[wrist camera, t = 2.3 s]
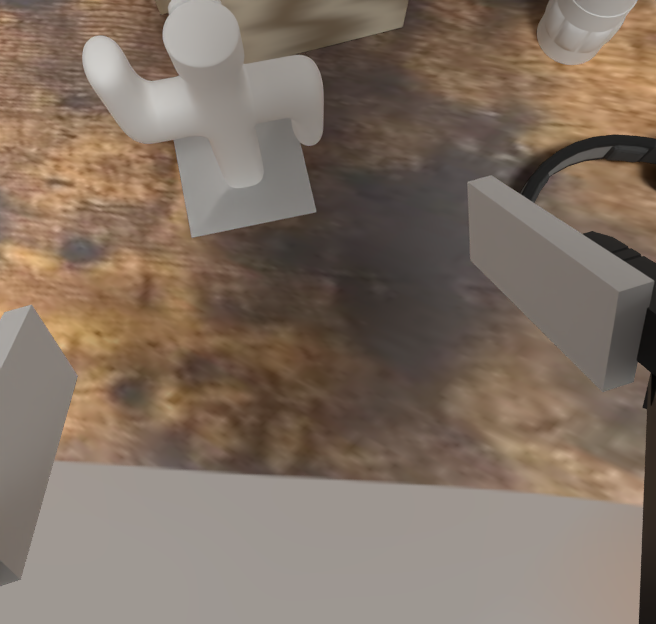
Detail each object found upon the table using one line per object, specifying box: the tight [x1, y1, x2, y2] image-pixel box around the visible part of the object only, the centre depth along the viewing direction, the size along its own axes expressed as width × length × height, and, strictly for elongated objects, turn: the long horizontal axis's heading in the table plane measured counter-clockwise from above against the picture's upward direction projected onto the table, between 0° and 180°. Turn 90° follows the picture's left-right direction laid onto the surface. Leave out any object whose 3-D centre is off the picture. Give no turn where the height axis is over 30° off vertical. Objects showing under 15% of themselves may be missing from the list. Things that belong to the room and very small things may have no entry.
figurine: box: [82, 0, 324, 238], centre depth 26 cm, size 7×9×15 cm
